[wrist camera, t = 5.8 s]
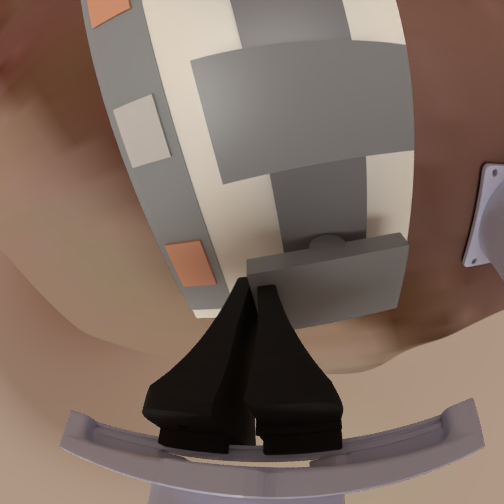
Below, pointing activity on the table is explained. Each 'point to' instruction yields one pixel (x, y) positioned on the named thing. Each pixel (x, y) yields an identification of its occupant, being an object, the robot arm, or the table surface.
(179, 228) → the switch panel
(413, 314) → the table surface
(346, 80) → the switch
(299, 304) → the switch
